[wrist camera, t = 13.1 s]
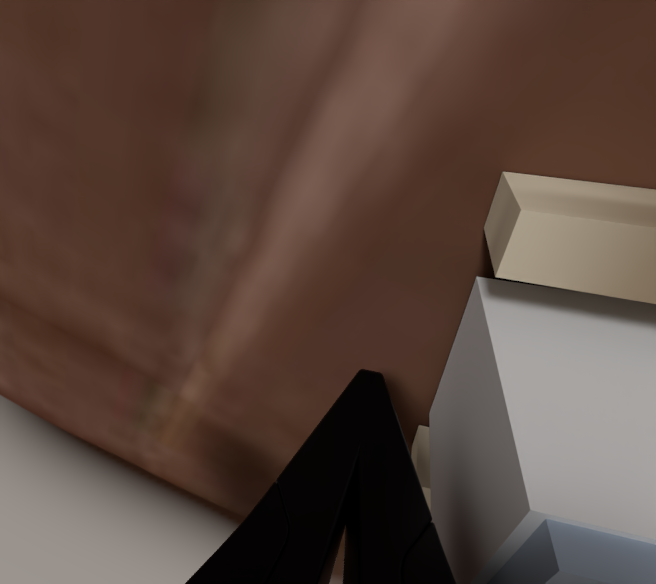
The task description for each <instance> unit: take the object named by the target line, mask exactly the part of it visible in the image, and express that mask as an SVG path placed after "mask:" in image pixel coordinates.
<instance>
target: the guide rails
mask: <svg viewBox="0 0 656 584" xmlns="http://www.w3.org/2000/svg"><path fill="white" fill-rule="evenodd" d="M484 231H485V235H486V240H487V244H488V248H489V252H490V257H491V261H492V265H493V269H494V274H495V277H498V278H504V279H510V280H515V281H521V282H527V283H533V284H539V285H545V286H551V287H557V288H563V289H569V290H575V291H581V292H587V293H593V294H598V295H604V296H610V297H616V298H622V299H628V300H634V301H640V302H646V303H652V304H656V190H654V189H645V188H637V187H629V186H620V185H612V184H603V183H595V182H587V181H578V180H570V179H561V178H553V177H544V176H536V175H528V174H519V173H511V172H502V175H501V178H500V181H499V184H498V187H497V190H496V193H495V196H494V199H493V202H492V205H491V208H490V211H489V214H488V217H487V220H486V223H485V226H484ZM411 458H412V461H413V464H414V466H415V469H416V472H417V475H418V478H419V481H420V484H421V487H422V490H423V493H424V496H425V498H426V501H427V504H428V507H429V510H430V511H431V485H430V431H429V427H426V426H422V425H419V426H418V429H417V432H416V435H415V438H414V441H413V444H412V455H411Z"/></svg>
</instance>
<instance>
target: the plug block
mask: <svg viewBox="0 0 656 584" xmlns="http://www.w3.org/2000/svg"><path fill="white" fill-rule="evenodd" d="M429 431H430V485H431V516H432V521H431V522H433V523H434V524H435V527H436V530H437V533H438V536H439V539H440V541H441V544H442V547H443V550H444V552H445V555H446V558H447V560H448V563H449V566H450V569H451V571H452V574H453V577H454V579H455V582H456V584H656V304H652V303H646V302H640V301H634V300H628V299H622V298H616V297H610V296H603V295H596V294H590V293H583V292H576V291H569V290H563V289H556V288H549V287H543V286H536V285H529V284H523V283H516V282H509V281H503V280H496V279H489V278H483V277H476V280H475V282H474V285H473V288H472V291H471V294H470V297H469V300H468V303H467V306H466V309H465V311H464V314H463V317H462V320H461V323H460V326H459V329H458V332H457V335H456V338H455V340H454V343H453V346H452V349H451V352H450V355H449V358H448V361H447V364H446V367H445V369H444V372H443V375H442V378H441V381H440V384H439V387H438V390H437V393H436V395H435V398H434V401H433V404H432V407H431V410H430V413H429Z"/></svg>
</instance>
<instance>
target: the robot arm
mask: <svg viewBox="0 0 656 584" xmlns="http://www.w3.org/2000/svg"><path fill="white" fill-rule="evenodd" d="M276 482H277V483H276ZM276 482H274V483H273V484H272V486H271V487H270V488H269V490H268V491H267V492H266V493H265V495H264V496H263V497H262V499H261V500H260V501H259V502H258V504H257V505H256V506H255V507H254V509H253V510H252V511H251V512H250V514H249V515H248V516H247V517H246V518H245V520H244V521H243V522H242V523H241V524H240V525H239V527H238V528H237V529H236V530H235V531H234V532H233V533H232V534H231V535H230V537H229V538H228V539H227V540H226V541H225V542H224V543H223V544H222V545H221V546H220V548H219V549H218V550H217V551H216V552H215V553H214V554H213V555H212V556H211V557H210V558H209V559H208V560H207V561H206V562H205V563H204V564H203V565H202V566H201V568H199V570H198V571H197V572H196V573H195V574H194V575H193V576H192V577H191V578H190V579H189V580H188V581H187V582H186V583H185V584H329V582H330V579H331V575H332V571H333V568H334V564H335V561H336V557H337V554H338V550H339V546H340V543H341V539H342V536H343V532H344V529H345V525H346V531H345V549H344V568H343V569H344V570H343V584H456V582H455V579H454V577H453V574H452V571H451V569H450V566H449V563H448V560H447V558H446V555H445V552H444V550H443V547H442V544H441V541H440V539H439V536H438V533H437V530H436V527H435V524H434V523H433V522H431V521H432V516H431V513H430V510H429V507H428V504H427V501H426V498H425V496H424V493H423V490H422V487H421V484H420V481H419V478H418V475H417V472H416V469H415V466H414V464H413V461H412V458H411V455H410V452H409V449H408V446H407V443H406V440H405V437H404V435H403V432H402V429H401V426H400V423H399V420H398V417H397V414H396V411H395V408H394V405H393V403H392V400H391V397H390V394H389V391H388V388H387V385H386V382H385V379H384V376H383V375H382V373H380V372H375V371H370V370H365V369H361V370H359V371H358V373H357V374H356V375H355V377H354V378H353V379H352V381H351V382H350V383H349V384H348V386H347V387H346V388H345V390H344V391H343V392H342V394H341V395H340V396H339V398H338V399H337V400H336V402H335V403H334V404H333V406H332V407H331V408H330V410H329V411H328V412H327V413H326V415H325V416H324V417H323V419H322V420H321V421H320V423H319V424H318V425H317V427H316V428H315V429H314V431H313V432H312V433H311V435H310V436H309V437H308V438H307V440H306V441H305V442H304V444H303V445H302V446H301V448H300V449H299V450H298V452H297V453H296V454H295V456H294V457H293V458H292V460H291V461H290V462H289V464H288V465H287V466H286V467H285V469H284V470H283V471H282V473H281V474H280V475H279V477H278V478H277V480H276Z"/></svg>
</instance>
